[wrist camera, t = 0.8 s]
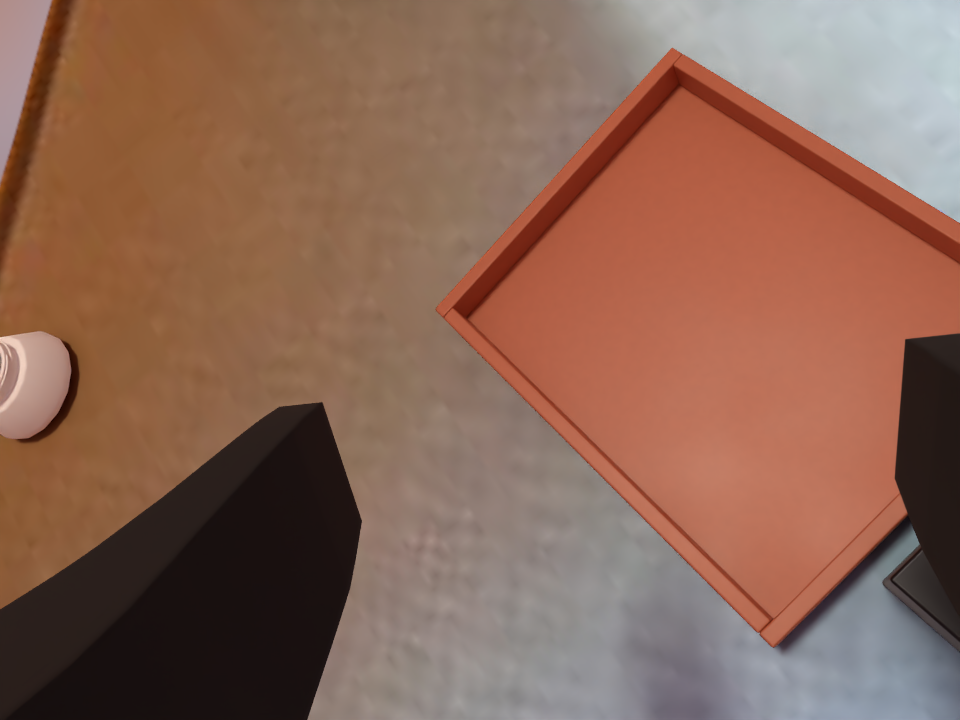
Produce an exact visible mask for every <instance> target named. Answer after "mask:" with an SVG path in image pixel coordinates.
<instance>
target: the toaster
mask: <svg viewBox="0 0 960 720" xmlns="http://www.w3.org/2000/svg"><path fill="white" fill-rule="evenodd" d="M882 583H883V585H884V586H885V587H886V588H888V589H889V590H890V591H891V592H892V593H893V594H894V595H896V596H897V597H898V598H899V599H900V600H901V601H902V602H903V603H905V604H906V605H907V606H908V607H909V608H910V609H911V610H912V611H914V612H915V613H916V614H917V615H918V616H919V617H920V618H922V619H923V620H924V621H925V622H926V623H927V624H928V625H929V626H931V627H932V628H933V629H934V630H935V631H936V632H937V633H938V634H940V635H941V636H942V637H943V638H944V639H945V640H946V641H947V642H949V643H950V644H951V645H952V646H953V647H954V648H955V649H957V650H958V651H959V652H960V617H959V616H958V614H957V612H956V610H955V609H954V607H953V605H952V603H951V601H950V600H949V598H948V596H947V594H946V592H945V591H944V589H943V587H942V585H941V583H940V582H939V580H938V578H937V576H936V574H935V573H934V571H933V569H932V567H931V565H930V563H929V562H928V560H927V558H926V556H925V554H924V552H923V550H922V548H921V546H920V545H919V546H918V547H917V548H916V549H915V550H914V551H913V552H912V553H911V554H910V555H909V556H908V557H907V558H906V559H905V560H904V561H903V562H902V563H901V564H899V565H898V566H897V567H896V568H895V569H894V570H893V571H892V572H891V573H890V574H889V575H888V576H887V577H886V578H885V579H884V580H883V582H882Z"/></svg>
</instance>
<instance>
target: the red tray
mask: <svg viewBox="0 0 960 720" xmlns="http://www.w3.org/2000/svg"><path fill="white" fill-rule="evenodd" d="M436 311H437V312H438V313H439V314H440V315H441V316H442V317H443V318H444V319H445V320H446V321H447V322H448V323H449V324H450V325H451V326H452V327H453V328H454V329H455V330H456V331H457V332H458V333H459V334H460V335H461V336H462V337H463V338H464V339H465V340H466V341H467V342H468V343H469V344H470V345H471V346H472V347H473V348H474V349H475V350H476V351H477V352H478V353H479V354H480V355H481V356H482V357H483V358H484V359H485V360H486V361H487V362H488V363H489V364H490V365H491V366H492V367H493V368H494V369H495V370H496V371H497V372H498V373H499V374H500V375H501V376H502V377H503V378H504V379H505V380H506V381H507V382H508V383H509V384H510V385H511V386H512V387H513V388H514V389H515V390H516V391H517V392H518V393H519V394H520V395H521V396H522V397H523V398H524V399H525V400H526V401H527V402H528V403H529V404H530V405H531V406H532V407H533V408H534V409H535V410H536V411H537V412H538V413H539V414H540V415H541V416H542V417H543V418H544V419H545V420H546V421H547V422H548V423H549V424H550V425H551V426H552V427H553V428H554V429H555V430H556V431H557V432H558V433H559V434H560V435H561V436H562V437H563V438H564V439H565V440H566V441H567V442H568V443H569V444H570V445H571V446H572V447H573V448H574V449H575V450H576V451H577V452H578V453H579V454H580V455H581V456H582V457H583V458H584V459H585V460H586V461H587V462H588V463H589V464H590V465H591V466H592V467H593V468H594V469H595V470H596V471H597V472H598V473H599V474H600V476H601V477H602V478H603V479H604V480H605V481H606V482H607V483H608V484H609V485H610V486H611V487H612V488H613V489H614V490H615V491H616V492H617V493H618V494H619V495H620V496H621V497H622V498H623V499H624V500H625V501H626V502H627V503H628V504H629V505H630V506H631V507H632V508H633V509H634V510H635V511H636V512H637V513H638V514H639V515H640V516H641V517H642V518H643V519H644V520H645V521H646V522H647V523H648V524H649V525H650V526H651V527H652V528H653V529H654V530H655V531H656V532H657V533H658V534H659V535H660V536H661V537H662V538H663V539H664V540H665V541H666V542H667V543H668V544H669V545H670V546H671V547H672V548H673V549H674V550H675V551H676V552H677V553H678V554H679V555H680V556H681V557H682V558H683V559H684V560H685V561H686V562H687V563H688V564H689V565H690V566H691V567H692V568H693V569H694V570H695V571H696V572H697V573H698V574H699V575H700V576H701V577H702V578H703V579H704V580H705V581H706V582H707V583H708V584H709V585H710V586H711V587H712V588H713V589H714V590H715V591H716V592H717V593H718V594H719V595H720V596H721V597H722V598H723V599H724V600H725V601H726V602H727V603H728V604H729V605H730V606H731V607H732V608H733V609H734V610H735V611H736V612H737V613H738V614H739V615H740V616H741V617H742V618H743V619H744V620H745V621H746V622H747V623H748V624H749V625H750V626H751V627H752V628H753V629H754V630H755V631H756V632H758V633H759V632H760V636H761V637H762V638H763V639H764V640H765V641H766V642H767V643H768V644H769V645H770V646H771V647H773V648H774V647H776V646H777V645H778V644H780V643H781V642H782V641H783V640H784V639H785V638H786V637H787V636H788V635H789V634H790V633H791V632H792V631H793V630H794V629H795V628H796V627H797V626H798V625H799V624H800V623H801V622H802V621H803V620H804V619H805V618H806V617H807V616H808V615H809V614H810V613H811V612H812V611H813V610H814V609H815V608H816V607H817V606H818V605H819V604H820V603H821V602H822V601H823V600H824V599H825V598H826V597H827V596H828V595H829V594H830V593H831V592H832V591H833V590H834V589H835V588H836V587H837V586H838V585H839V584H840V583H841V582H842V581H843V580H844V579H845V578H846V577H847V576H848V575H849V574H850V573H851V572H852V571H853V570H854V569H855V568H856V567H857V566H858V565H859V564H860V563H861V562H862V561H863V560H864V559H865V558H866V557H867V556H868V555H869V554H870V553H871V552H872V551H873V550H874V549H875V548H876V547H877V546H878V545H879V544H880V543H881V542H882V541H883V540H884V539H885V538H886V537H887V536H888V535H889V534H890V533H891V532H892V531H893V530H894V529H895V528H896V527H897V526H898V525H899V524H900V523H901V522H902V521H903V520H904V519H905V518H906V517H907V516H908V513H907V510H906V508H905V505H904V502H903V500H902V497H901V494H900V492H899V489H898V486H897V484H896V481H895V465H896V452H897V439H898V426H899V413H900V400H901V387H902V374H903V361H904V348H905V339H910V338H920V337H929V336H938V335H947V334H957V333H960V223H958V222H957V221H955V220H953V219H952V218H950V217H949V216H947V215H945V214H944V213H942V212H940V211H939V210H937V209H935V208H934V207H932V206H931V205H929V204H927V203H926V202H924V201H922V200H921V199H919V198H917V197H916V196H914V195H913V194H911V193H909V192H908V191H906V190H904V189H903V188H901V187H899V186H898V185H896V184H895V183H893V182H891V181H890V180H888V179H886V178H885V177H883V176H881V175H880V174H878V173H877V172H875V171H873V170H872V169H870V168H868V167H867V166H865V165H863V164H862V163H860V162H859V161H857V160H855V159H854V158H852V157H850V156H849V155H847V154H846V153H844V152H842V151H841V150H839V149H837V148H836V147H834V146H832V145H831V144H829V143H828V142H826V141H824V140H823V139H821V138H819V137H818V136H816V135H814V134H813V133H811V132H810V131H808V130H806V129H805V128H803V127H801V126H800V125H798V124H796V123H795V122H793V121H792V120H790V119H788V118H787V117H785V116H783V115H782V114H780V113H778V112H777V111H775V110H774V109H772V108H770V107H769V106H767V105H765V104H764V103H762V102H760V101H759V100H757V99H756V98H754V97H752V96H751V95H749V94H747V93H746V92H744V91H742V90H741V89H739V88H738V87H736V86H734V85H733V84H731V83H729V82H728V81H726V80H724V79H723V78H721V77H720V76H718V75H716V74H715V73H713V72H711V71H710V70H708V69H706V68H705V67H703V66H702V65H700V64H698V63H697V62H695V61H693V60H692V59H690V58H688V57H687V56H685V55H682V53H680V52H678V51H677V50H675V49H673V48H671V49H670V51H669V52H668V53H667V54H666V55H665V56H664V57H663V58H662V59H661V60H660V62H659V63H658V64H657V65H656V66H655V67H654V68H653V69H652V70H651V71H650V73H649V74H648V75H647V76H646V77H645V78H644V79H643V80H642V81H641V83H640V84H639V85H638V86H637V87H636V88H635V89H634V90H633V91H632V92H631V94H630V95H629V96H628V97H627V98H626V99H625V100H624V101H623V102H622V103H621V105H620V106H619V107H618V108H617V109H616V110H615V111H614V112H613V113H612V114H611V116H610V117H609V118H608V119H607V120H606V121H605V122H604V123H603V124H602V126H601V127H600V128H599V129H598V130H597V131H596V132H595V133H594V134H593V135H592V137H591V138H590V139H589V140H588V141H587V142H586V143H585V144H584V145H583V146H582V148H581V149H580V150H579V151H578V152H577V153H576V154H575V155H574V156H573V157H572V159H571V160H570V161H569V162H568V163H567V164H566V165H565V166H564V167H563V169H562V170H561V171H560V172H559V173H558V174H557V175H556V176H555V177H554V178H553V180H552V181H551V182H550V183H549V184H548V185H547V186H546V187H545V188H544V189H543V191H542V192H541V193H540V194H539V195H538V196H537V197H536V198H535V199H534V200H533V202H532V203H531V204H530V205H529V206H528V207H527V208H526V209H525V210H524V212H523V213H522V214H521V215H520V216H519V217H518V218H517V219H516V220H515V221H514V223H513V224H512V225H511V226H510V227H509V228H508V229H507V230H506V231H505V232H504V234H503V235H502V236H501V237H500V238H499V239H498V240H497V241H496V242H495V243H494V245H493V246H492V247H491V248H490V249H489V250H488V251H487V252H486V253H485V255H484V256H483V257H482V258H481V259H480V260H479V261H478V262H477V263H476V264H475V266H474V267H473V268H472V269H471V270H470V271H469V272H468V273H467V274H466V275H465V277H464V278H463V279H462V280H461V281H460V282H459V283H458V284H457V285H456V286H455V288H454V289H453V290H452V291H451V292H450V293H449V294H448V295H447V296H446V298H445V299H444V300H443V301H442V302H441V303H440V304H439V305H438V306H437V307H436Z"/></svg>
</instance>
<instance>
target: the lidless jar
mask: <svg viewBox="0 0 960 720" xmlns="http://www.w3.org/2000/svg"><path fill="white" fill-rule="evenodd" d="M70 376H71V365H70V359H69V352H68V351H67V349H66V347H65V346H64V344H63V343H62V341H61V340H60V339H59V338H57V337H54V336H52V335H50V334H48V333H45V332H42V331H39V332H32V333H25V334H18V335H12V336H5V337H0V434H1V435H3V436H4V437H6V438H10V439H23V438H30V437H31V436H33V435H35V434H36V433H38V432H40V431H41V430H43V429H45V428H46V426H47V425H48V424H49V423H50V422H51V421H52V419H53V418H54V417H55V416H56V415H57V413H58V412H59V410H60V408H61V406H62V403H63V401H64V399H65V397H66V395H67V393H68V388H69V382H70Z"/></svg>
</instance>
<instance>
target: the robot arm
mask: <svg viewBox="0 0 960 720" xmlns="http://www.w3.org/2000/svg"><path fill="white" fill-rule="evenodd" d="M895 481H896V484H897V486H898V489H899V492H900V494H901V497H902V500H903V502H904V505H905V508H906V510H907V513H908V516H909V518H910V521H911V523H912V526H913V528H914V531H915V533H916V536H917V538H918V541H919V543H920V546H921V548H922V550H923V552H924V554H925V556H926V558H927V560H928V562H929V563H930V565H931V567H932V569H933V571H934V573H935V574H936V576H937V578H938V580H939V582H940V583H941V585H942V587H943V589H944V591H945V592H946V594H947V596H948V598H949V600H950V601H951V603H952V605H953V607H954V609H955V610H956V612H957V614H958V616H959V617H960V333H957V334H947V335H938V336H929V337H920V338H910V339H905V348H904V361H903V374H902V387H901V400H900V413H899V426H898V439H897V452H896V465H895ZM361 523H362V520H361V517H360V514H359V511H358V508H357V505H356V502H355V499H354V496H353V493H352V490H351V487H350V484H349V481H348V478H347V475H346V472H345V469H344V466H343V463H342V460H341V457H340V454H339V451H338V448H337V445H336V442H335V439H334V436H333V433H332V430H331V427H330V424H329V421H328V418H327V415H326V412H325V409H324V406H323V403H322V402H320V403H311V404H302V405H293V406H283V407H279V408H277V409H276V410H274V411H272V412H271V413H269V414H268V415H266V416H265V417H264V418H262V419H261V420H259V421H258V422H257V423H255V424H254V425H253V426H251V427H250V428H249V429H247V430H246V431H245V432H244V433H242V434H241V435H240V436H239V437H237V438H236V439H235V440H233V441H232V442H231V443H230V444H228V445H227V446H226V447H225V448H224V449H222V450H221V451H220V452H219V453H217V454H216V455H215V456H214V457H212V458H211V459H210V460H209V461H207V462H206V463H205V464H204V465H202V466H201V467H200V468H199V469H197V470H196V471H195V472H194V473H192V474H191V475H190V476H189V477H187V478H186V479H185V480H184V481H182V482H181V483H180V484H179V485H177V486H176V487H175V488H174V489H172V490H171V491H170V492H169V493H167V494H166V495H165V496H164V497H162V498H161V499H160V500H158V501H157V502H156V503H154V504H153V505H152V506H150V507H149V508H148V509H146V510H145V511H144V512H142V513H141V514H140V515H138V516H137V517H136V518H134V519H133V520H132V521H130V522H129V523H128V524H126V525H125V526H124V527H122V528H121V529H120V530H118V531H117V532H116V533H114V534H113V535H112V536H110V537H109V538H108V539H106V540H105V541H103V542H102V543H101V544H99V545H98V546H97V547H95V548H94V549H93V550H91V551H90V552H88V553H87V554H85V555H84V556H83V557H81V558H80V559H78V560H77V561H75V562H74V563H72V564H71V565H69V566H68V567H66V568H65V569H63V570H62V571H60V572H59V573H57V574H56V575H54V576H53V577H51V578H50V579H48V580H47V581H45V582H43V583H42V584H40V585H39V586H37V587H35V588H34V589H32V590H31V591H29V592H28V593H26V594H24V595H23V596H21V597H20V598H18V599H17V600H15V601H13V602H12V603H10V604H8V605H7V606H5V607H4V608H2V609H0V720H307V719H308V716H309V713H310V710H311V707H312V703H313V700H314V697H315V694H316V691H317V688H318V685H319V682H320V679H321V676H322V673H323V670H324V667H325V664H326V661H327V658H328V655H329V652H330V649H331V646H332V643H333V640H334V637H335V634H336V631H337V628H338V625H339V622H340V618H341V615H342V612H343V609H344V606H345V603H346V600H347V596H348V593H349V590H350V586H351V581H352V575H353V570H354V565H355V560H356V554H357V548H358V542H359V536H360V529H361Z"/></svg>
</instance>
